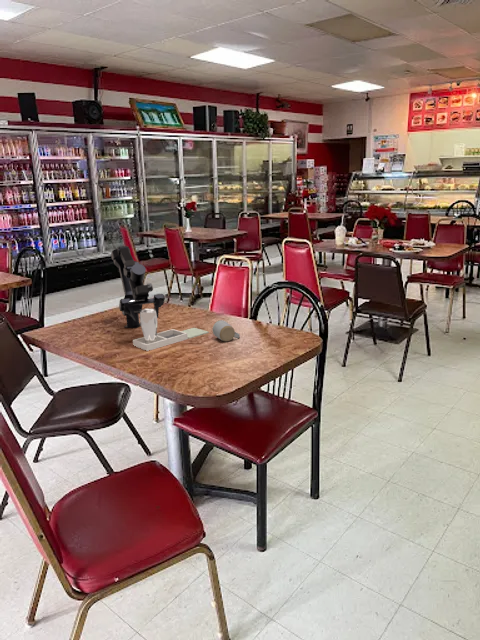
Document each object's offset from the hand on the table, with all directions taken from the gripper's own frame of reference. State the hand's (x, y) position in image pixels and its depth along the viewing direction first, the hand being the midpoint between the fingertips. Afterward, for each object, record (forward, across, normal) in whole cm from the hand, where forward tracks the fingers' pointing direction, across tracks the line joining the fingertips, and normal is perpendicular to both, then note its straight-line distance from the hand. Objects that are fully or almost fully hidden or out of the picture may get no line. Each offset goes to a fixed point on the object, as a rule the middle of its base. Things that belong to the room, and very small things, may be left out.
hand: (146, 319), depth 200 cm
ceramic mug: (+16, +31, -1) cm, 35 cm away
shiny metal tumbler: (+10, 0, +6) cm, 11 cm away
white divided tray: (+7, +10, +8) cm, 15 cm away
